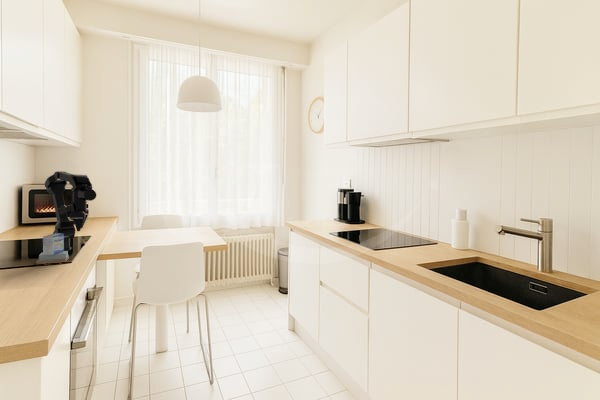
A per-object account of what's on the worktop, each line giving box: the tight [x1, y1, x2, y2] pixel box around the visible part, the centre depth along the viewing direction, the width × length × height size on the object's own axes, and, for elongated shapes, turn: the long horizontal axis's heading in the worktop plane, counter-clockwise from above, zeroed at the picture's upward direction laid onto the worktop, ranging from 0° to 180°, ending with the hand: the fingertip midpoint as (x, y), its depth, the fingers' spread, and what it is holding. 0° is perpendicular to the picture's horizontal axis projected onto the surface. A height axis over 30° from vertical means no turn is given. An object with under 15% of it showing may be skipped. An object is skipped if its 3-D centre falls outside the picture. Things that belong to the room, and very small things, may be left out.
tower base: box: [35, 255, 70, 265], centre depth 151 cm, size 7×11×2 cm, turn 117°
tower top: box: [38, 250, 69, 261], centre depth 152 cm, size 6×10×2 cm, turn 119°
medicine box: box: [42, 233, 64, 255], centre depth 151 cm, size 8×4×9 cm, turn 5°
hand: (79, 229), depth 166 cm, fingers open, 9 cm apart
